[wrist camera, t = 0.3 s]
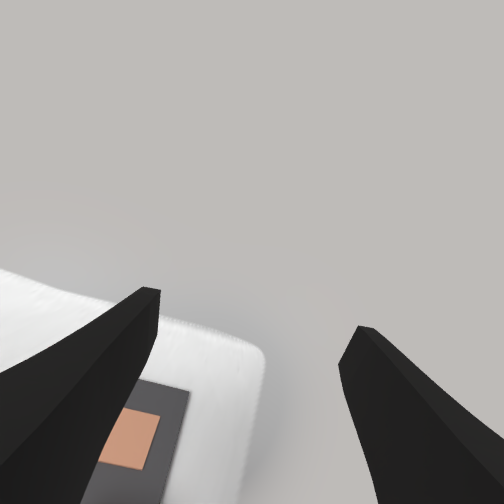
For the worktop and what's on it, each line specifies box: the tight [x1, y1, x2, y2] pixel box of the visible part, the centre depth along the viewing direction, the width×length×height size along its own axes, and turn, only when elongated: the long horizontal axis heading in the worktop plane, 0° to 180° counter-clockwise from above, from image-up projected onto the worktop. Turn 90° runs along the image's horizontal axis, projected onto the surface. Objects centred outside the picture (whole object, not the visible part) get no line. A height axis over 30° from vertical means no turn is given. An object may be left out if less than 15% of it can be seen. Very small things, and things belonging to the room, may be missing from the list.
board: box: [80, 379, 189, 504], centre depth 22 cm, size 10×8×1 cm
